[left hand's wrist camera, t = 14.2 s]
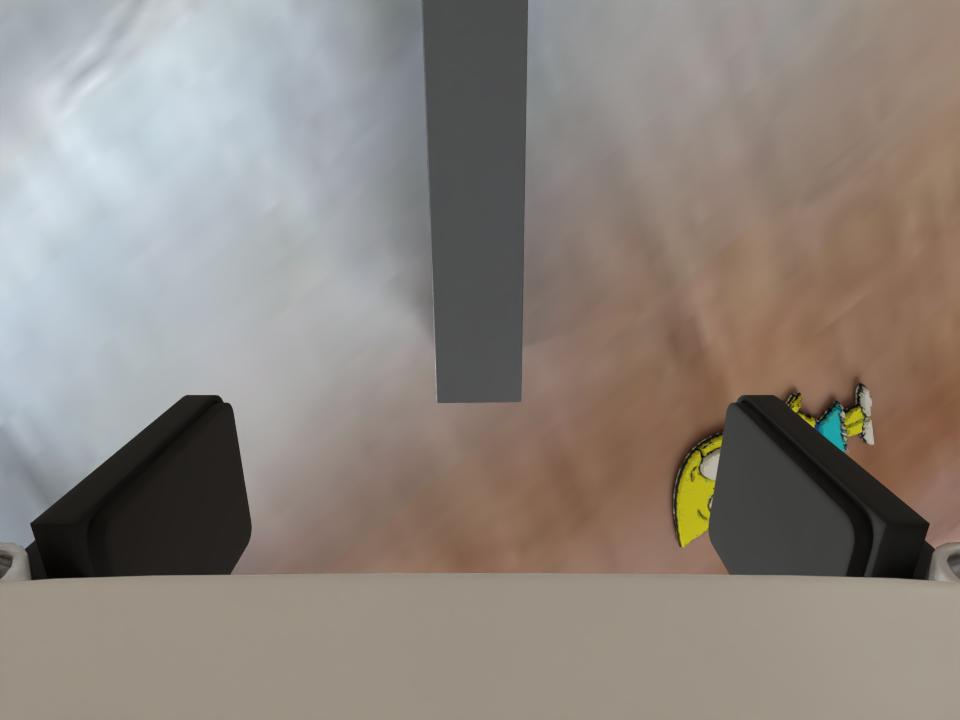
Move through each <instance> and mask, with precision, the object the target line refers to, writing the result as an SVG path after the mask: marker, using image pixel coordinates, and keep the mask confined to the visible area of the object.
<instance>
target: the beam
mask: <svg viewBox="0 0 960 720" xmlns="http://www.w3.org/2000/svg"><path fill="white" fill-rule="evenodd" d="M422 23H423V50H424V77H425V104H426V131H427V158H428V185H429V212H430V239H431V266H432V293H433V320H434V347H435V374H436V401H437V403H487V402H521V382H522V323H523V264H524V205H525V146H526V87H527V28H528V0H422Z"/></svg>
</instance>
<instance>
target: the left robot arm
mask: <svg viewBox="0 0 960 720" xmlns="http://www.w3.org/2000/svg"><path fill="white" fill-rule="evenodd" d="M30 525H31V528H32V531H33V534H34V537H35V541H34V542H33V543H31V544H30V545H29V546H28V547H27V548H26V549H24V548H23V547H22V546H19V545H17V544H14V543H6V542H0V720H960V542H954V543H946V544H943V545H941V546H938V547H937V548H936V549H934V548H933V547H932V546H931V545H930V544H929V543H927V542H926V541H925V537H926V534H927V531H928V528H929V525H930V524H929V523H928V522H927V521H926V520H925V519H923V518H922V517H921V516H920V515H919V514H917V513H916V512H915V511H914V510H913V509H911V508H910V507H909V506H908V505H907V504H905V503H904V502H903V501H902V500H901V499H899V498H898V497H897V496H896V495H894V494H893V493H892V492H891V491H890V490H888V489H887V488H886V487H885V486H884V485H882V484H881V483H880V482H879V481H878V480H876V479H875V478H874V477H873V476H872V475H870V474H869V473H868V472H867V471H866V470H864V469H863V468H862V467H861V466H860V465H858V464H857V463H856V462H855V461H853V460H852V459H851V458H850V457H849V456H847V455H846V454H845V453H844V452H843V451H841V450H840V449H839V448H838V447H837V446H835V445H834V444H833V443H832V442H831V441H829V440H828V439H827V438H826V437H825V436H823V435H822V434H821V433H820V432H819V431H817V430H816V429H815V428H814V427H812V426H811V425H810V424H809V423H808V422H806V421H805V420H804V419H803V418H802V417H800V416H799V415H798V414H797V413H796V412H794V411H793V410H792V409H791V408H790V407H788V406H787V405H786V404H785V403H784V402H782V401H781V400H780V399H779V398H778V397H776V396H774V395H742V396H741V397H739V399H738V400H737V402H736V403H731V404H730V405H729V406H728V409H727V413H726V419H725V425H724V431H723V437H722V444H721V450H720V456H719V462H718V468H717V475H716V481H715V487H714V493H713V499H712V505H711V512H710V518H709V526H708V529H709V537H710V540H711V543H712V545H713V547H714V548H715V550H716V552H717V554H718V555H719V557H720V559H721V560H722V562H723V564H724V565H725V567H726V569H727V571H728V572H729V574H730V575H702V574H587V573H349V574H258V575H230V574H231V572H232V571H233V569H234V567H235V565H236V564H237V562H238V560H239V559H240V557H241V555H242V554H243V552H244V550H245V548H246V547H247V545H248V543H249V540H250V537H251V529H252V526H251V518H250V512H249V505H248V499H247V493H246V487H245V481H244V475H243V468H242V462H241V456H240V450H239V444H238V437H237V431H236V425H235V419H234V413H233V409H232V406H231V405H230V404H229V403H224V402H223V400H222V399H221V397H219V396H217V395H186V396H184V397H182V398H181V399H180V400H179V401H178V402H176V403H175V404H174V405H173V406H172V407H170V408H169V409H168V410H167V411H166V412H164V413H163V414H162V415H161V416H160V417H158V418H157V419H156V420H155V421H154V422H152V423H151V424H150V425H149V426H148V427H146V428H145V429H144V430H143V431H141V432H140V433H139V434H138V435H137V436H135V437H134V438H133V439H132V440H131V441H129V442H128V443H127V444H126V445H125V446H123V447H122V448H121V449H120V450H119V451H117V452H116V453H115V454H114V455H113V456H111V457H110V458H109V459H108V460H107V461H105V462H104V463H103V464H102V465H100V466H99V467H98V468H97V469H96V470H94V471H93V472H92V473H91V474H90V475H88V476H87V477H86V478H85V479H84V480H82V481H81V482H80V483H79V484H78V485H76V486H75V487H74V488H73V489H72V490H70V491H69V492H68V493H67V494H66V495H64V496H63V497H62V498H61V499H59V500H58V501H57V502H56V503H55V504H53V505H52V506H51V507H50V508H49V509H47V510H46V511H45V512H44V513H43V514H41V515H40V516H39V517H38V518H37V519H35V520H34V521H33V522H32V523H31V524H30Z"/></svg>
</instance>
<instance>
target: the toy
mask: <svg viewBox="0 0 960 720" xmlns="http://www.w3.org/2000/svg"><path fill="white" fill-rule="evenodd" d="M796 393H797V392H796ZM796 393H793V394H791V396H790V397H789V399H788V400H787V401H786V403H785V404H786V405H787V406H788V407H790V408H791V409H792V410H793V411H794V412H796V413H797V414H798V415H800V417H802V418H803V419H804V420H805V421H806V422H808V423H809V424H810V425H811V426H812V427H814V428H815V429H816V430H817V431H819V432H820V433H821V434H822V435H823V436H825V437H826V438H827V439H828V440H829V441H831V442H832V443H833V444H834V445H835V446H837V447H838V448H839V449H840V450H841V451H843V452H844V450H845V451H848V452H849V450H848V448H847V446H846V445H848V444H847V442H846V441H848V440H847V438H846V436H853V435H856V434H858V433H859V434H860V438H861V439H862V441H863V443H866V444H871V445H874V438H873V430H872V421H871V419H870V418H869V416H871V411H870V407H872V405H871V404H872V399H871V398H870V397H871V396H870V395H869V390H868V389H867V388H866V387H865V385H863V384H861V383H860V384H858V387H857V389H856V404H855V405H852V406H850V407H848V408H846V409H845V410H844V411H843V409H844V408H843V407H842V405H841V404H840V403H839V402H838V401H835V402H834V403H833V404H832V406H831V407H829V409H828V410H826V411H825V414H824V415H823V416H821V418H820V420H819V421H818V420H817V419H816V418H814V417H813V416H812V415H811V414H810V415H805V414H804V413H803V412H800V411H798V410H799V408H800V407H801V399H802V398H801V394H800V393H797V394H796ZM795 406H796V407H795ZM835 414H836V415H835ZM851 414H852V416H851ZM833 416H834V417H833ZM848 417H849V418H848ZM859 418H861V419H859ZM839 419H840V420H839ZM828 420H829V421H828ZM810 421H811V423H810ZM839 421H840V422H839ZM722 437H723V432H719V433H716V434H714V435H712V436H709V437H708V438H706V439H704V440H703V441H701V442H699V444H697V445H696V446H695V447H694V448H692V450H691V451H690V453H689V454H688V456H686V458H685V461H683V462H682V465H681V467H680V469H679V472H678V475H677V480H676V483H675V490H674V491H675V493H674V502H673V504H674V507H673V510H674V512H673V514H674V520H675V521H674V524H675V527H676V534H677V538H678V542H679V546H680V547H681V546H682V547H685V546H686V545H687V544H688V543H689V542H691V541H692V540H693V539H695V538H697V537H698V536H699V535H701V534H702V533H704V532H705V531H707V530H708V526H709V518H710V512H711V505H712V499H713V493H714V487H715V481H716V475H717V468H718V462H719V456H720V450H721V444H722ZM720 440H721V441H720ZM717 441H718V442H717ZM842 443H843V444H842ZM705 448H706V449H705ZM843 449H844V450H843ZM715 455H716V456H715ZM714 456H715V457H714ZM696 457H697V458H696ZM697 461H698V462H697ZM708 461H709V462H708ZM706 463H707V464H708V465H706ZM693 467H694V468H693ZM703 470H704V473H703ZM697 472H698V473H697ZM705 475H706V476H705ZM700 478H701V479H700ZM689 479H690V480H689ZM686 480H687V481H686ZM681 489H682V490H681ZM706 499H707V500H706ZM679 503H680V504H679ZM698 515H699V516H698ZM699 517H700V518H699ZM695 519H696V520H695ZM691 520H692V521H691ZM704 521H705V522H704ZM681 524H682V525H681ZM681 535H683V536H681Z"/></svg>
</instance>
